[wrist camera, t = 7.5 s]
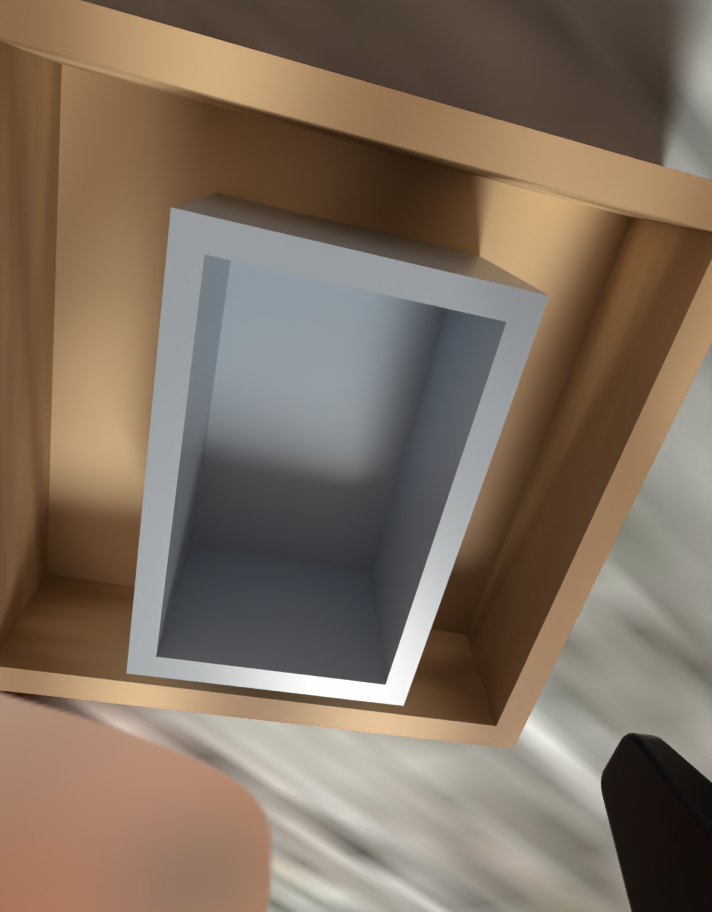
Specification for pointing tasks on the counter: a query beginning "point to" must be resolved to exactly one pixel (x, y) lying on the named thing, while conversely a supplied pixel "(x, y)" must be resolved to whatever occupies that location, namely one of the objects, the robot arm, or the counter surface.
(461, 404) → the small crate
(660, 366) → the big crate
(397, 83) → the counter surface
